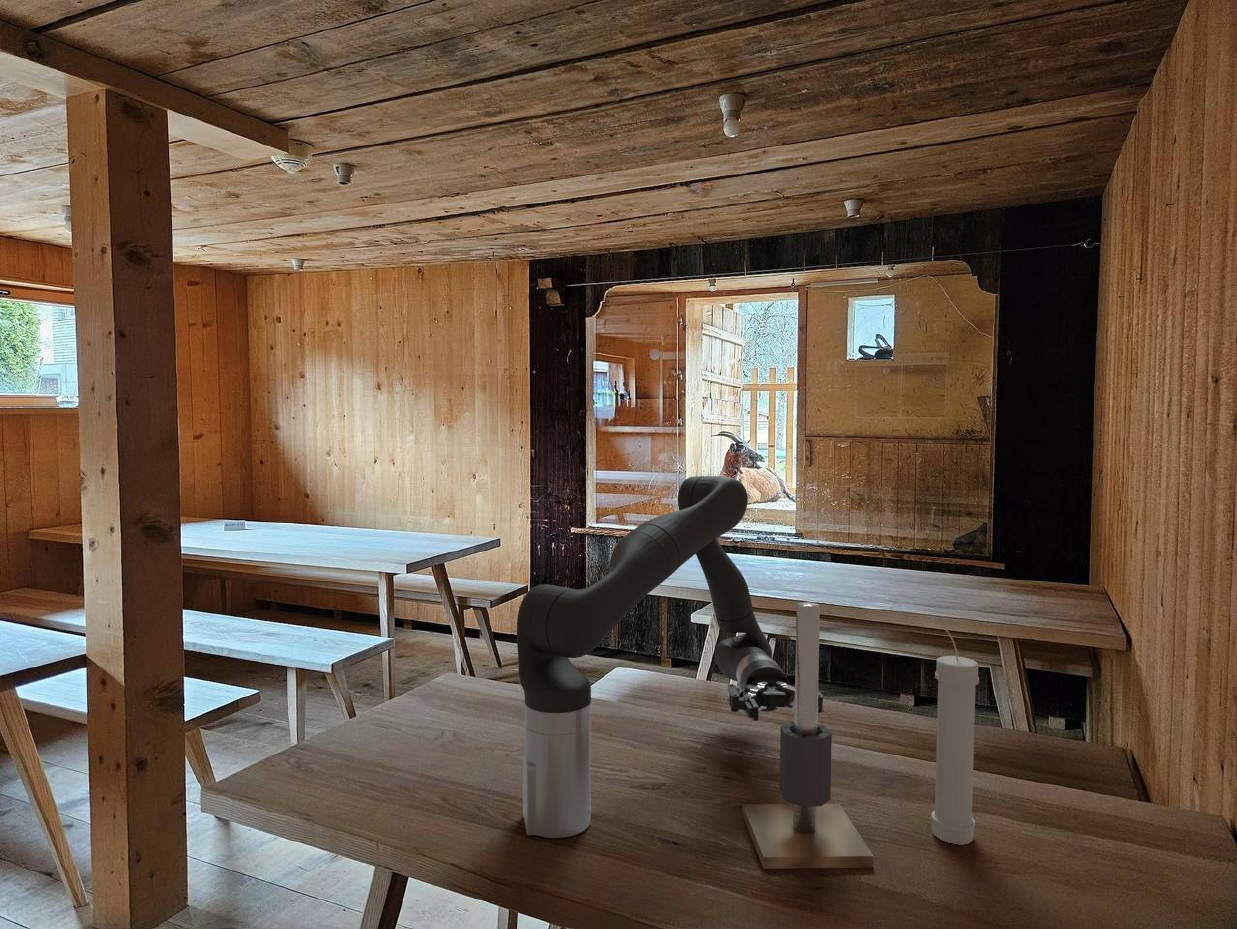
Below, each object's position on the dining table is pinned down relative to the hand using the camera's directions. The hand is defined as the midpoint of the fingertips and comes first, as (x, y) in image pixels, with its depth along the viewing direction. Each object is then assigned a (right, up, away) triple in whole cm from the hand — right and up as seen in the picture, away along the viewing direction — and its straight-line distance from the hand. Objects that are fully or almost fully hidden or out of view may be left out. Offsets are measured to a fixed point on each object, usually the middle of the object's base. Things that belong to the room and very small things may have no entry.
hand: (785, 714), depth 118 cm
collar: (0, -8, -11) cm, 13 cm away
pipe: (+21, -14, -9) cm, 26 cm away
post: (0, -14, -10) cm, 17 cm away
